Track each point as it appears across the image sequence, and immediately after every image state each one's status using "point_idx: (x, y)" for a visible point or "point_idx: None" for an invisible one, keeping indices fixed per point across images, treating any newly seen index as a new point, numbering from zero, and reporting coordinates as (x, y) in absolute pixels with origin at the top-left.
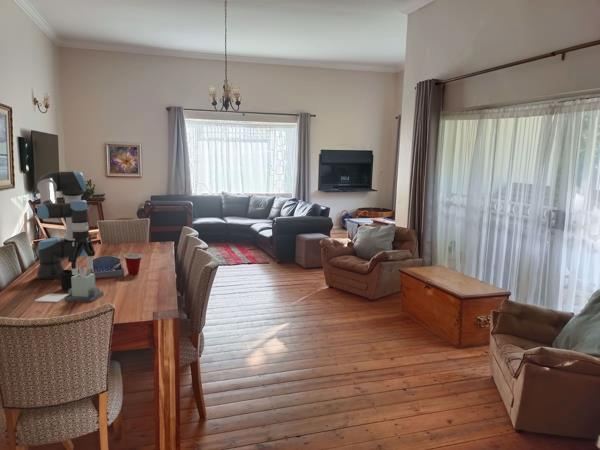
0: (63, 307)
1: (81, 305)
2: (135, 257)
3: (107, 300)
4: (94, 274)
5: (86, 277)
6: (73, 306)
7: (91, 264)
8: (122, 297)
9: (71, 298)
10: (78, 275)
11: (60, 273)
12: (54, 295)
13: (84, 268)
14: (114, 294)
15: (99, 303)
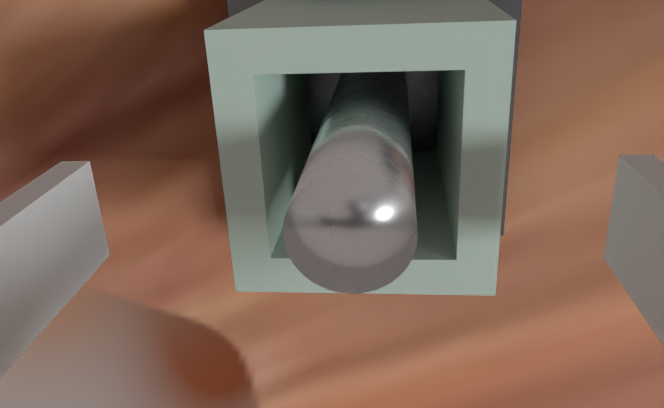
0: (50, 56)
1: (151, 187)
2: None
3: (330, 328)
4: (482, 289)
5: (245, 290)
6: (105, 132)
7: (637, 294)
8: (431, 403)
9: (232, 15)
10: (372, 70)
11: None
12: None
13: (322, 284)
14: (518, 308)
15: (240, 304)
